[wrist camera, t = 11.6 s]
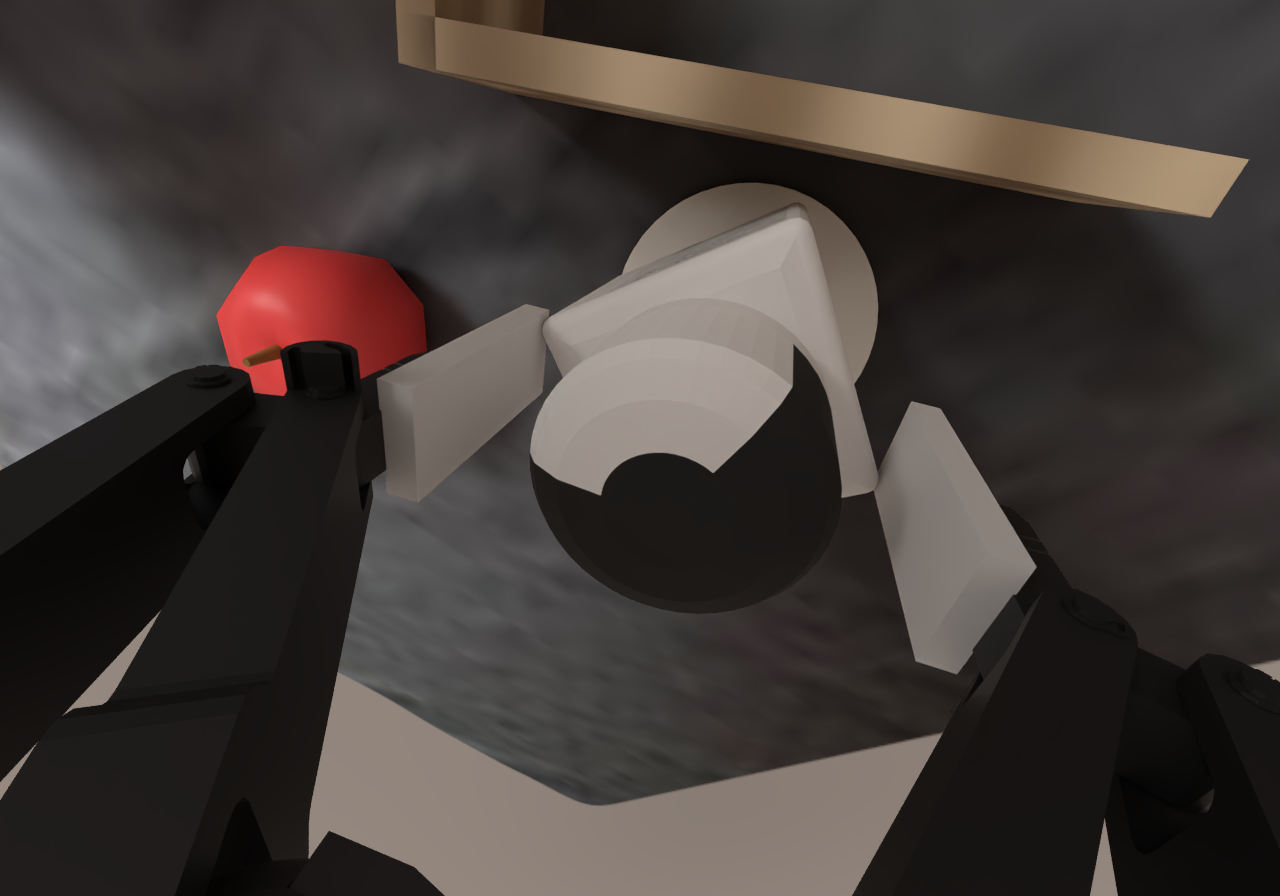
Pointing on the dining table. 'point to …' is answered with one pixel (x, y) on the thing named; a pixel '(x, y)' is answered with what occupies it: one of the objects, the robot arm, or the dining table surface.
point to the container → (703, 422)
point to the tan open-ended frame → (806, 112)
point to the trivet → (753, 200)
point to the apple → (318, 311)
